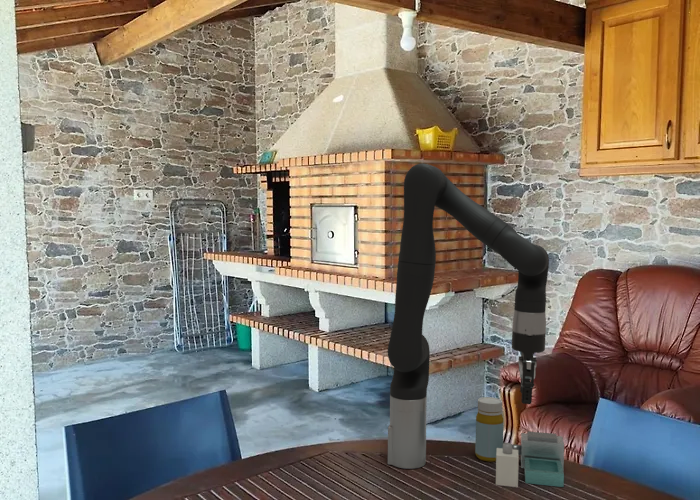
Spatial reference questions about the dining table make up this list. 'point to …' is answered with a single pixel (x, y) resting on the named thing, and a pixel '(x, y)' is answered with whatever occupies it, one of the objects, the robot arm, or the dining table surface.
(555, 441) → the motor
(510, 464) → the white cube with peg
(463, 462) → the dining table surface
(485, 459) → the bottle
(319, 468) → the dining table surface
